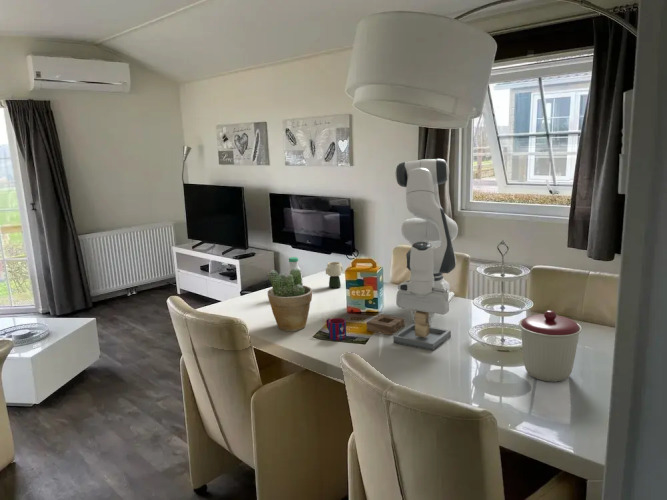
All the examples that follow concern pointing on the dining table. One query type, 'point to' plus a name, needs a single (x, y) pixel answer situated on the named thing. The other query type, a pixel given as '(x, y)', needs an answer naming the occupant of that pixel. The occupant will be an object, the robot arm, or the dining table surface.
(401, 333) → the tray
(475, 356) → the dining table surface
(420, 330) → the peg
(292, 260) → the milk bottle
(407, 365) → the dining table surface
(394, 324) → the collar
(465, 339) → the dining table surface
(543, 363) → the canister
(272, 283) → the potted plant
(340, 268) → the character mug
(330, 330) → the cup
